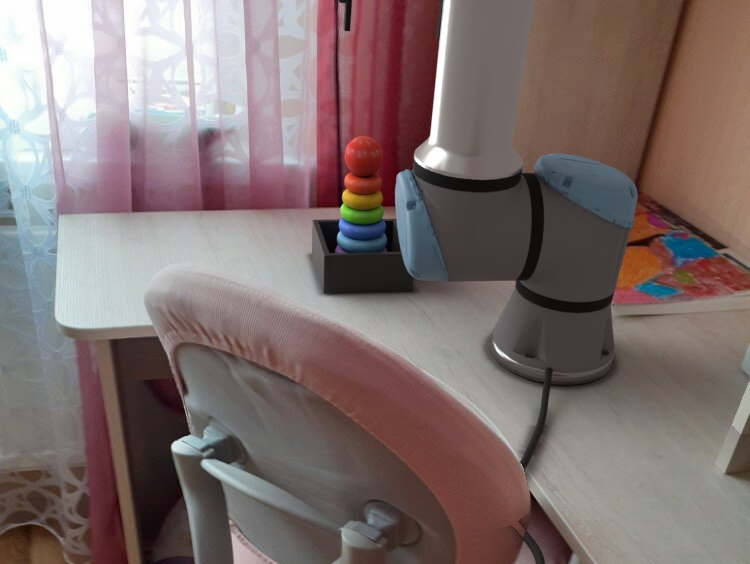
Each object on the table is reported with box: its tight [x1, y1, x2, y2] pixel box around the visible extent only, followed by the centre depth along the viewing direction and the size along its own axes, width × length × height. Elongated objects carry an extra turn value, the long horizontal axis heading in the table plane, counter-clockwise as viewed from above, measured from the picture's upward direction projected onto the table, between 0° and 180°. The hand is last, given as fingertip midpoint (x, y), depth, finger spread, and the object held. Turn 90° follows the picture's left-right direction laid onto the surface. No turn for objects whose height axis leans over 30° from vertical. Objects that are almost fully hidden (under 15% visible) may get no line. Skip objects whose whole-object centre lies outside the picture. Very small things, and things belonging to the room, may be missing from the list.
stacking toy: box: [335, 135, 387, 253], centre depth 116 cm, size 8×8×19 cm
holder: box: [311, 218, 415, 295], centre depth 120 cm, size 13×13×6 cm
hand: (393, 34), depth 123 cm, fingers open, 13 cm apart
